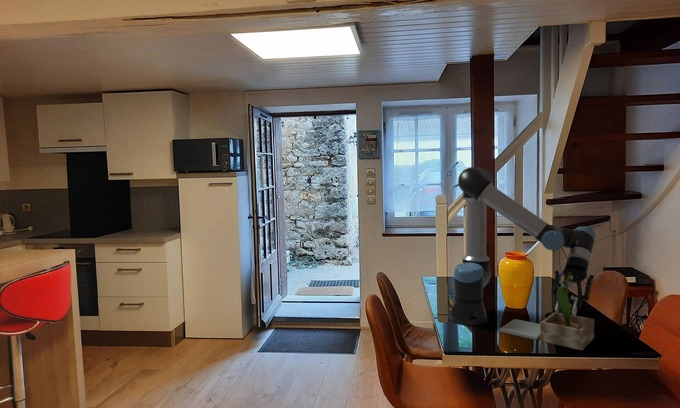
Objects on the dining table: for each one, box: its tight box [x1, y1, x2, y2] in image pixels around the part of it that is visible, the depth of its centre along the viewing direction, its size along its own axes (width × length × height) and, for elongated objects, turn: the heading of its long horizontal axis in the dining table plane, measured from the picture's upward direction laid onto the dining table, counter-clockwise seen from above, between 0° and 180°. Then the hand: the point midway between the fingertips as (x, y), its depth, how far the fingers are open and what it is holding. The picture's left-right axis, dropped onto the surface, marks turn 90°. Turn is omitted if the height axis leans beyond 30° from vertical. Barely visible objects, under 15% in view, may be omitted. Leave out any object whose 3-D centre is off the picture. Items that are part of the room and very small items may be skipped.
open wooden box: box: [539, 311, 595, 351], centre depth 162 cm, size 14×16×7 cm
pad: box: [498, 318, 541, 341], centre depth 173 cm, size 14×16×1 cm
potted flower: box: [554, 272, 580, 329], centre depth 162 cm, size 12×10×25 cm
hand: (564, 313), depth 159 cm, fingers closed on potted flower, 5 cm apart
